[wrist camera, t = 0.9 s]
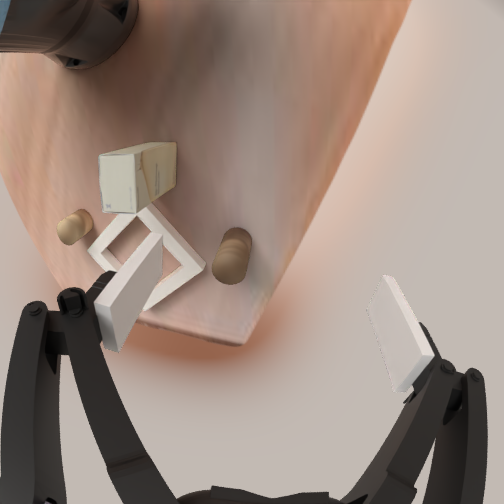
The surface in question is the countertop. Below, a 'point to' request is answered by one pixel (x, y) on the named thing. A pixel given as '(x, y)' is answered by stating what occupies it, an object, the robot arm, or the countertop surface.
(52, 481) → the robot arm
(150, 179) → the skincare box
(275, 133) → the countertop surface
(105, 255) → the white square frame
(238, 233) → the mid walnut dowel
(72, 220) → the short oak dowel
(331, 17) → the countertop surface
